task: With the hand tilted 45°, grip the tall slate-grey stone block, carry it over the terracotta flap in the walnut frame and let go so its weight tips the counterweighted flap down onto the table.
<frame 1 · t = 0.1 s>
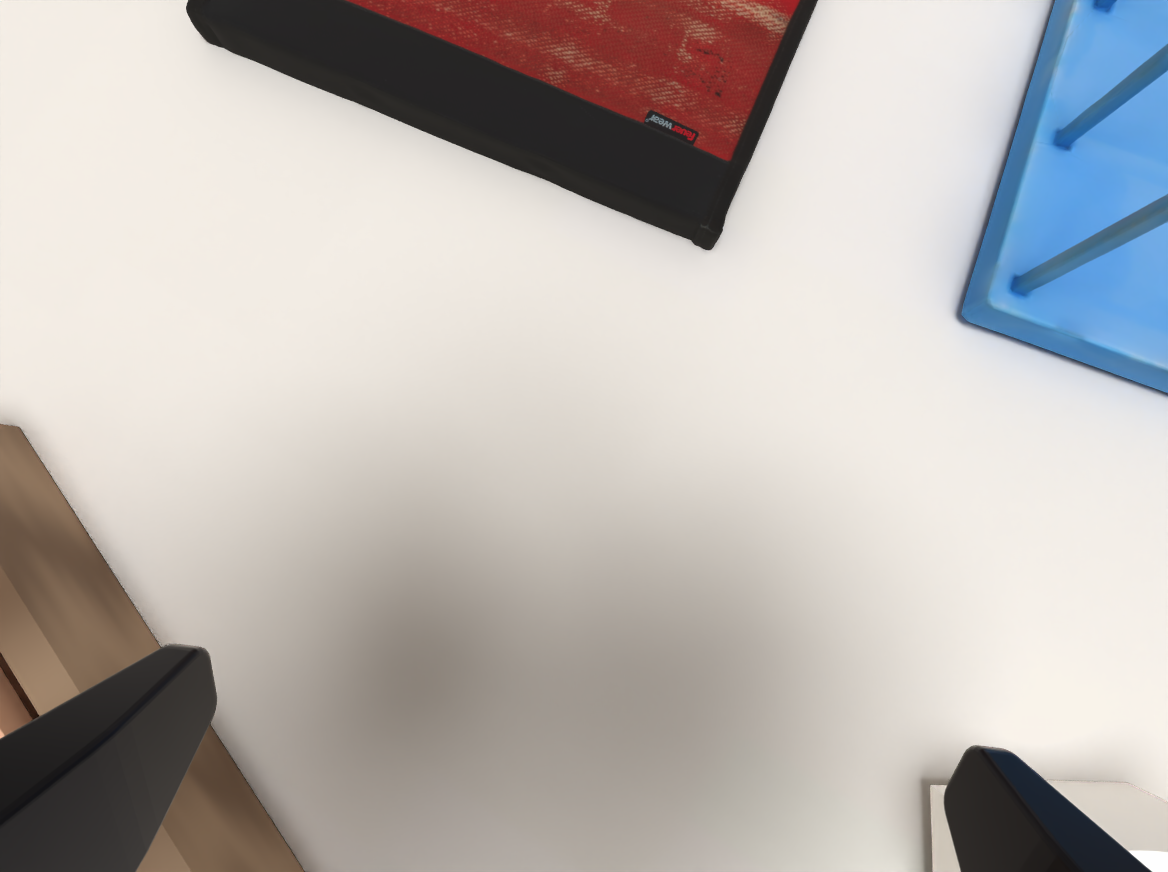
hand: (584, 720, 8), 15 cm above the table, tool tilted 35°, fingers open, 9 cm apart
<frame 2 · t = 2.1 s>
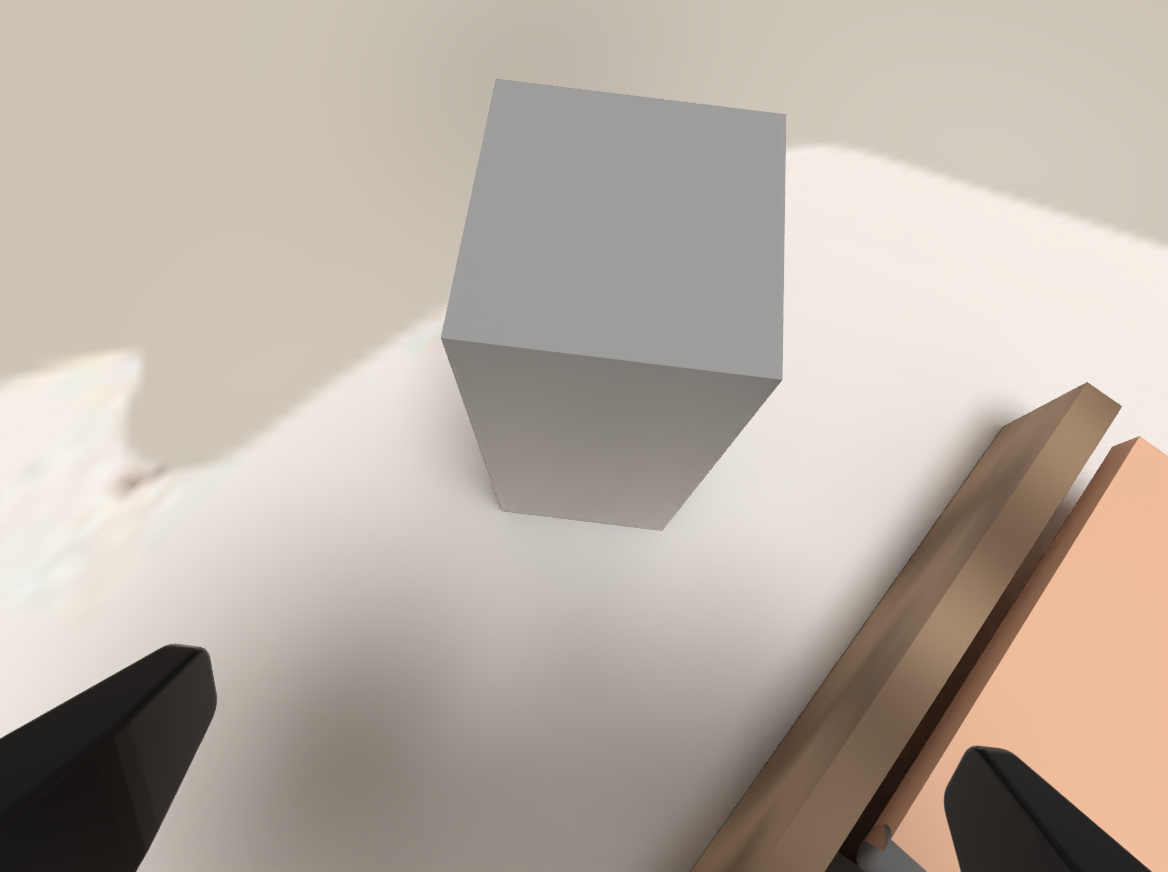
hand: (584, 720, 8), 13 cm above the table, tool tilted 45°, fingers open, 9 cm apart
stone block: (590, 444, 23), on the table
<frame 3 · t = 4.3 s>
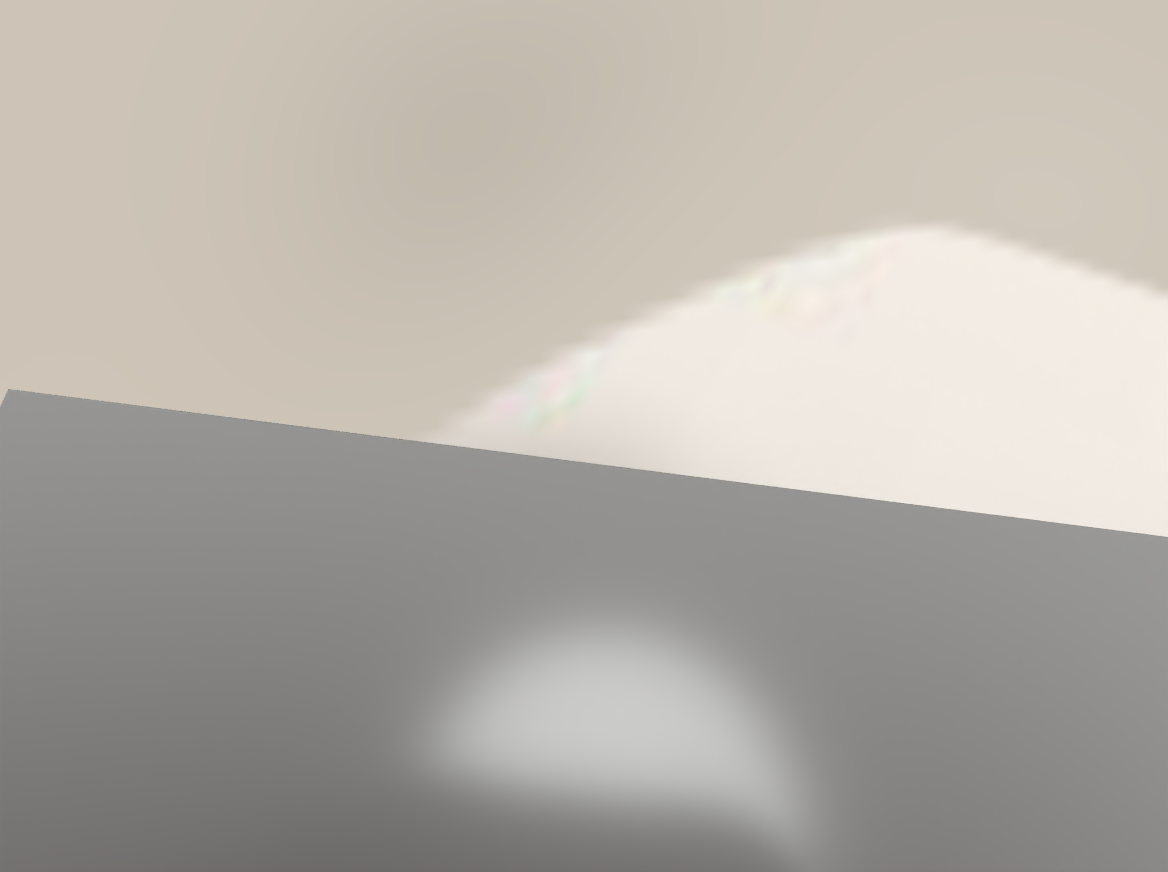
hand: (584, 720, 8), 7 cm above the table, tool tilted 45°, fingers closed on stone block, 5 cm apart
stone block: (562, 767, 13), on the table, touching gripper
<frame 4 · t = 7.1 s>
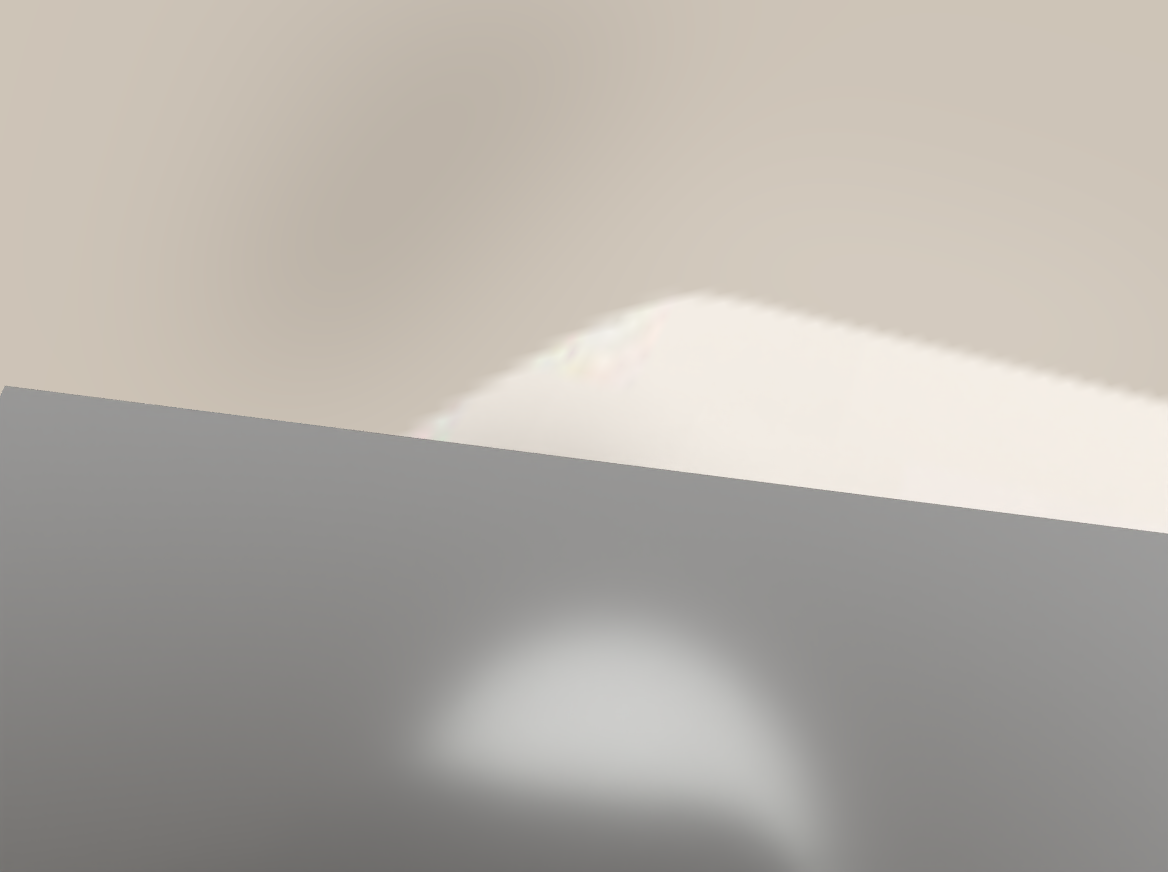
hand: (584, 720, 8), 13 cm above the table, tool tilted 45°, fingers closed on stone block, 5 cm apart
stone block: (561, 766, 13), point 7 cm above the table, touching gripper
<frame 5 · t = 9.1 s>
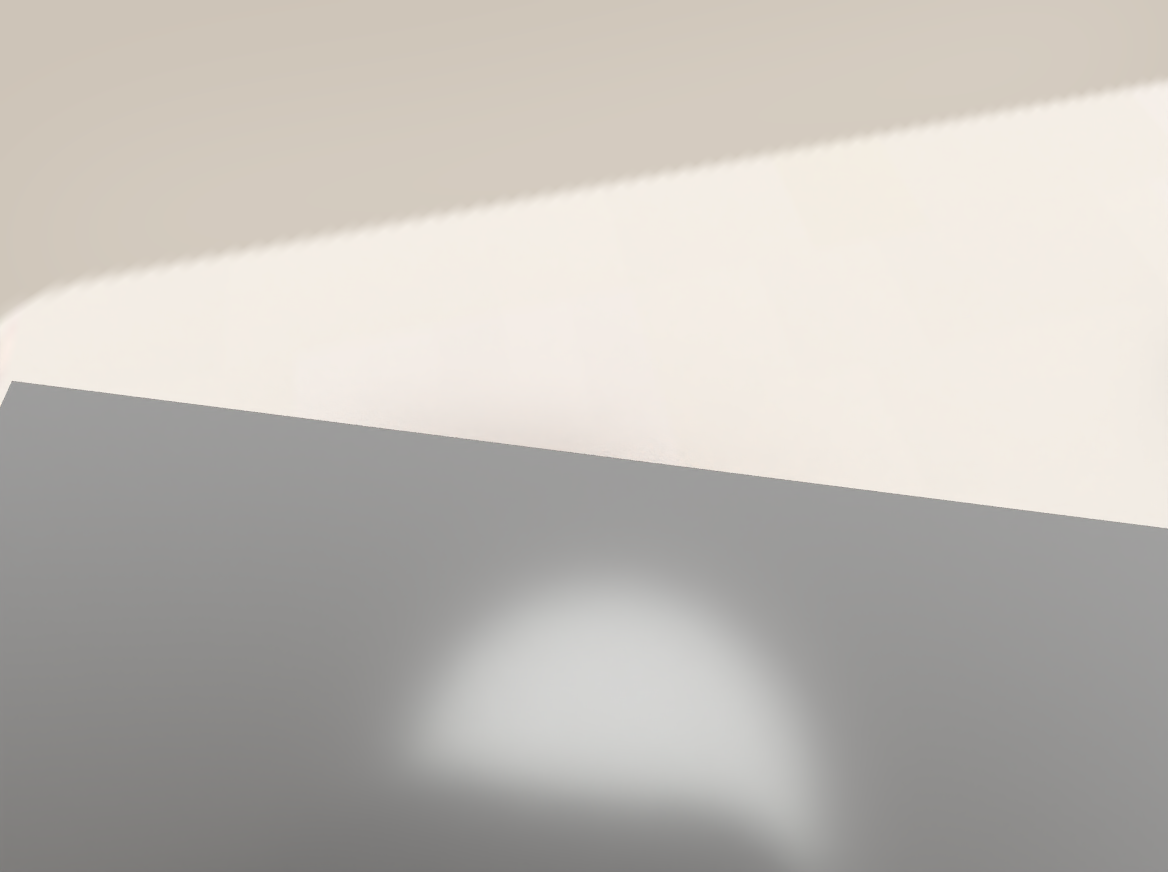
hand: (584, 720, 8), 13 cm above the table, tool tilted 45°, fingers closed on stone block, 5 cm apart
stone block: (562, 765, 13), point 7 cm above the table, touching gripper
when the fingers open (13 cm above the table, at t = 10.0 s): stone block drops 5 cm, resting on flap.
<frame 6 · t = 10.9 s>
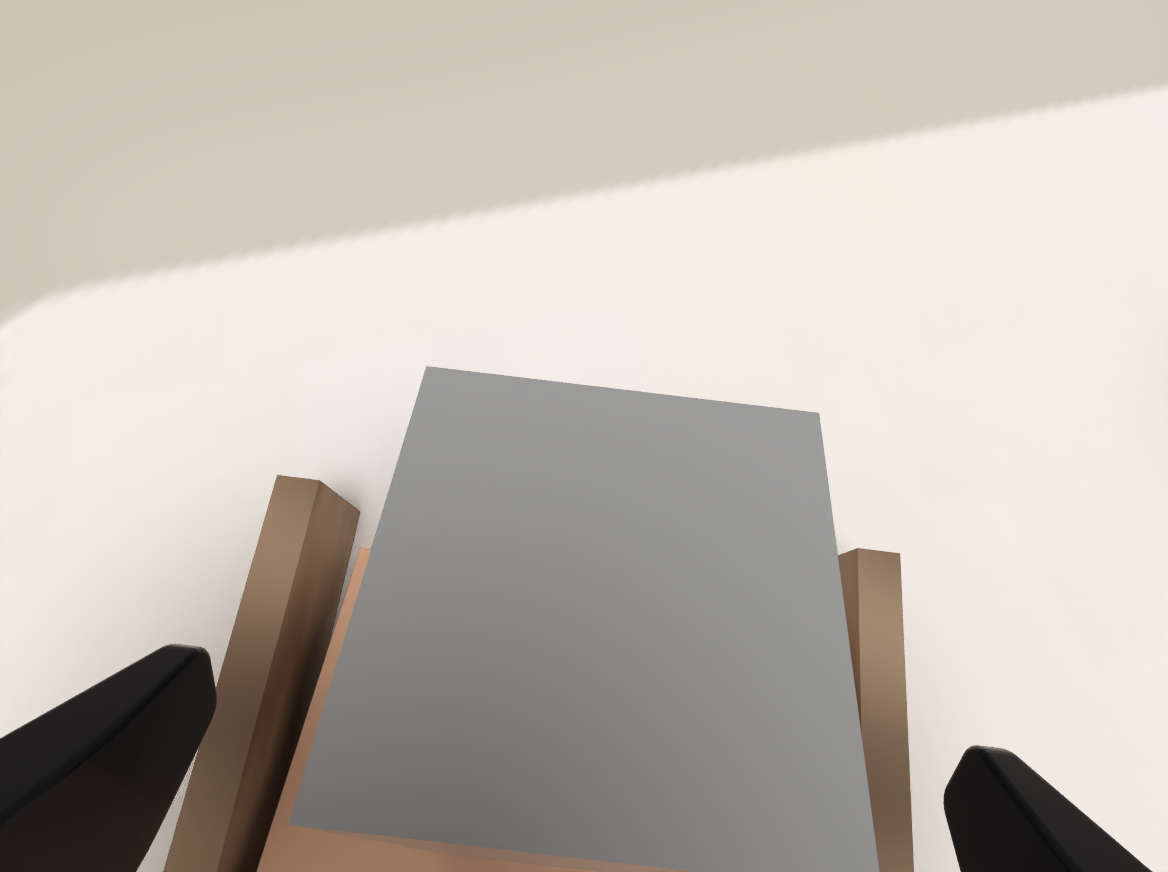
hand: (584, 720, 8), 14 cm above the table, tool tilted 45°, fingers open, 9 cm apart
stone block: (562, 746, 18), point 2 cm above the table, tilted 15°, touching flap
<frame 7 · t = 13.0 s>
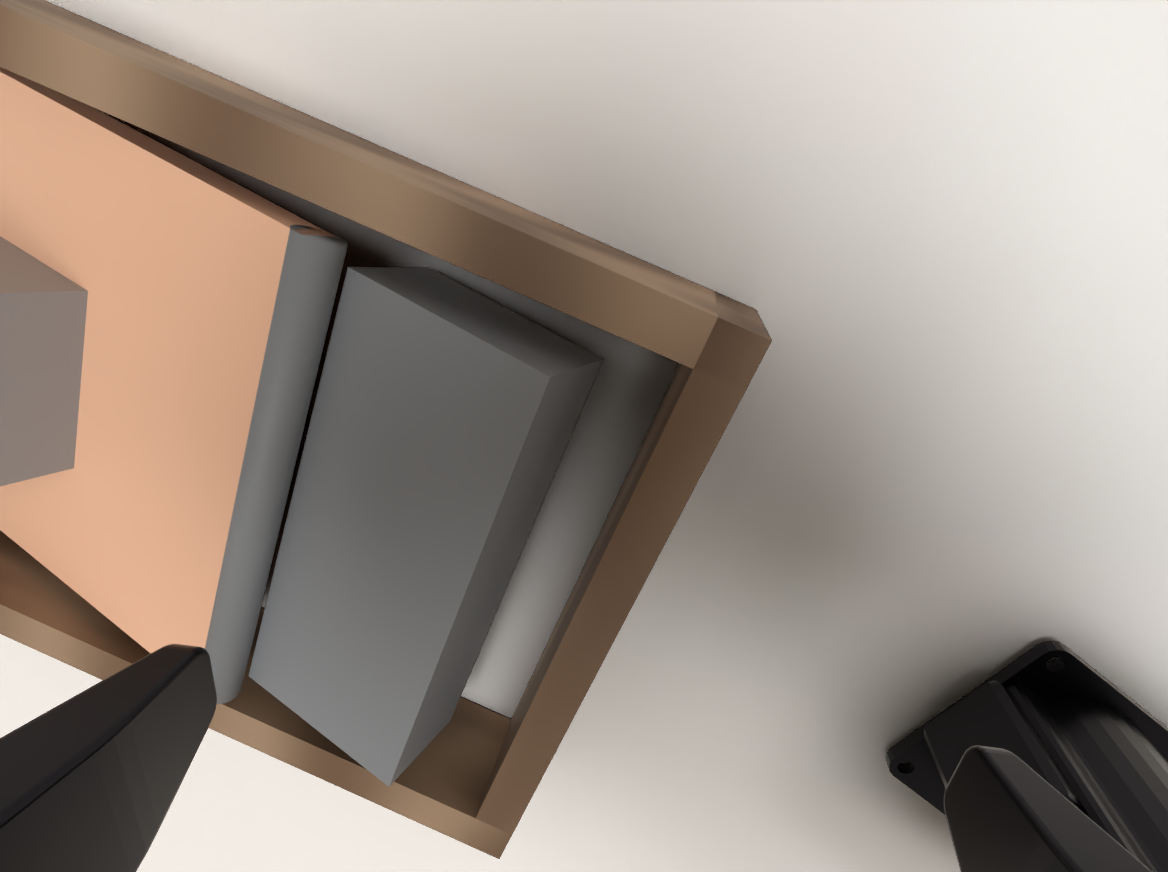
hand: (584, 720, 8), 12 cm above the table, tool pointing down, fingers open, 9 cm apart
flap frame: (340, 443, 21), on the table
flap: (204, 413, 19), point 2 cm above the table, hinge at -14.6°, touching stone block
stone block: (17, 341, 19), point 2 cm above the table, tilted 15°, touching flap
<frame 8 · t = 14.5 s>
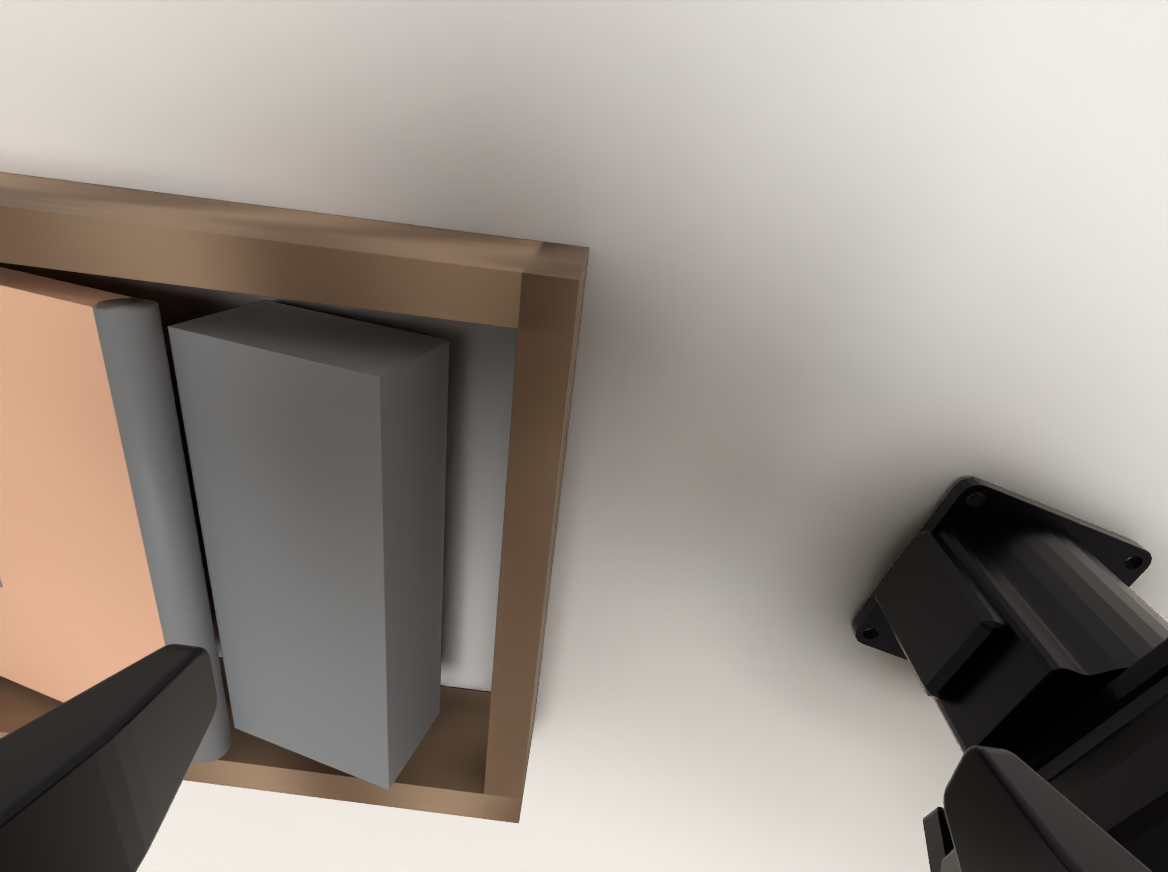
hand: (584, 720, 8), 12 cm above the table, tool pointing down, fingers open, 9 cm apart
flap frame: (253, 488, 21), on the table
flap: (109, 500, 19), point 2 cm above the table, hinge at -14.5°, touching stone block
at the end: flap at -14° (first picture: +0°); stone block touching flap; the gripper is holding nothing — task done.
